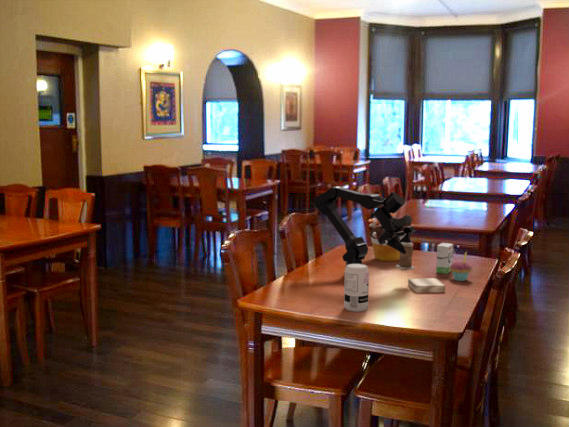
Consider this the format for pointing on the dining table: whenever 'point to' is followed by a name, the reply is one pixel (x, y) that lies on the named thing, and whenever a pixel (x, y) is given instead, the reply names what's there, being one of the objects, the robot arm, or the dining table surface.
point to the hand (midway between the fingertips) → (409, 252)
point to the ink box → (444, 258)
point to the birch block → (426, 285)
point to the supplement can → (356, 287)
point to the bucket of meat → (383, 250)
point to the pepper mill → (406, 257)
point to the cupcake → (460, 270)
